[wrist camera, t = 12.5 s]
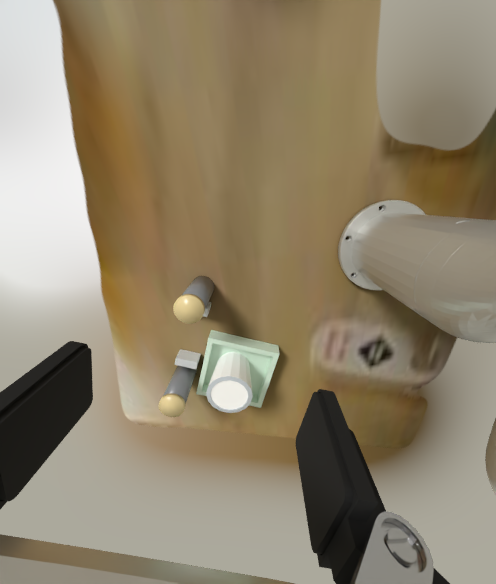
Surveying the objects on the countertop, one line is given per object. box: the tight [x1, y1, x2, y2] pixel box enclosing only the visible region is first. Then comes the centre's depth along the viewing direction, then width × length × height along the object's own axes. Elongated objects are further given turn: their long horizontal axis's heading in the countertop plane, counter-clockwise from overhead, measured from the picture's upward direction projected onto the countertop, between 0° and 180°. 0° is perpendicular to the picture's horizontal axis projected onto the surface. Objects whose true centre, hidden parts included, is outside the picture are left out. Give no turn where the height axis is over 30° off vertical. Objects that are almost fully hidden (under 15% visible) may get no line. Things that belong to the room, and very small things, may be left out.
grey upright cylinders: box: [159, 276, 214, 417], centre depth 37 cm, size 4×20×9 cm, turn 166°
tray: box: [196, 330, 279, 408], centre depth 42 cm, size 12×12×2 cm
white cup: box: [206, 352, 253, 413], centre depth 39 cm, size 7×7×7 cm
